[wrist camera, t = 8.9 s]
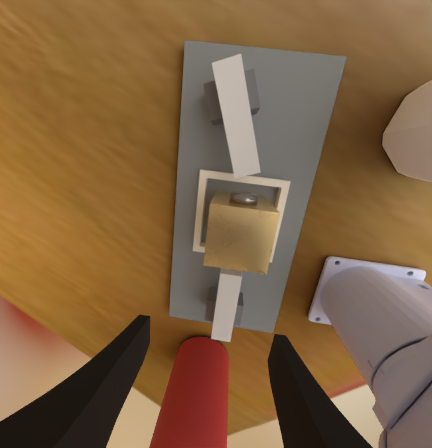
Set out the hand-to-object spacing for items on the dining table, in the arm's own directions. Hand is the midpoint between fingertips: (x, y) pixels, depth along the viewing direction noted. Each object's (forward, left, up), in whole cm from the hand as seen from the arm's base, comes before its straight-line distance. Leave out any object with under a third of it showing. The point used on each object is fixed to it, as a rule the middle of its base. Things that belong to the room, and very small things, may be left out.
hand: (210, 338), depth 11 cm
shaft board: (-1, -5, -10) cm, 12 cm away
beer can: (0, +14, -11) cm, 18 cm away
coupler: (-1, -5, -9) cm, 11 cm away
